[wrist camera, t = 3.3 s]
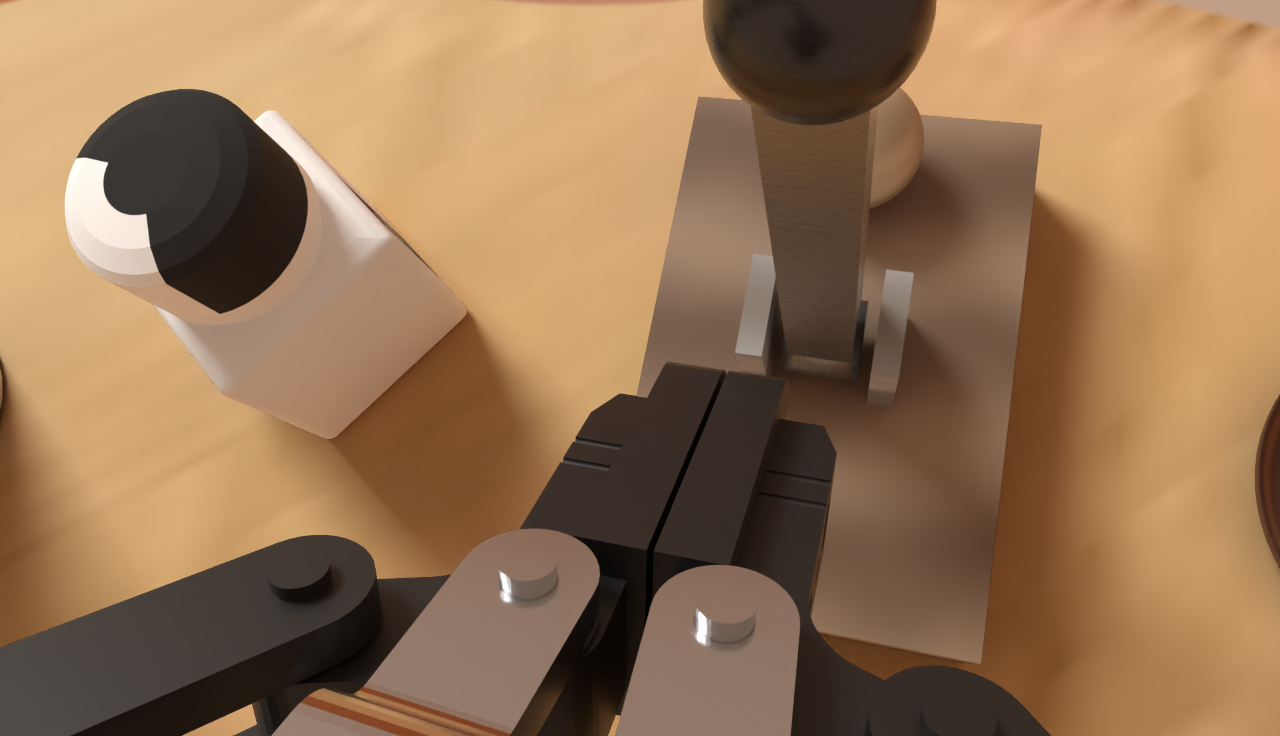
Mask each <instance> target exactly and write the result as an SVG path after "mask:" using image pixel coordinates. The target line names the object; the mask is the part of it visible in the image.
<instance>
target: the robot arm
mask: <svg viewBox="0 0 1280 736" xmlns="http://www.w3.org/2000/svg"><path fill="white" fill-rule="evenodd" d="M787 397H788V379H783V378H776V377H770V376H763V375H756V374H750V373H743V372H736V371H728V373H727V375H726V371H725V370H722V369H715V368H708V367H702V366H695V365H689V364H682V363H675V362H666V363H665V365H664V367H663V368H662V370H661V372H660V374H659V376H658V378H657V380H656V382H655V384H654V385H653V387H652V389H651V391H650V393H649V395H648V397H647V398H645V397H639V396H633V395H626V394H618V395H617V396H615V397H614V398H612V399H611V400H609V401H608V402H606V403H605V404H603V405H602V406H600V407H598V408H597V409H595V410H594V411H592V412H591V413H590V415H589V416H588V418H587V420H586V421H585V423H584V425H583V426H582V428H581V430H580V431H579V433H578V434H577V436H576V441H575V442H573V443H572V444H571V446H570V448H569V449H568V451H567V453H566V454H565V456H564V459H563V463H561V462H560V464H559V466H558V467H557V469H556V471H555V472H554V474H553V476H552V477H551V479H550V480H549V482H548V484H547V485H546V487H545V489H544V490H543V492H542V494H541V495H540V497H539V499H538V500H537V502H536V503H535V505H534V507H533V508H532V510H531V512H530V513H529V515H528V517H527V518H526V520H525V522H524V523H523V525H522V526H521V528H520V530H514V531H509V532H506V533H502V534H499V535H497V536H494V537H492V538H489V539H488V540H486V541H484V542H482V543H480V544H479V545H478V546H476V547H475V548H474V549H473V550H471V552H470V553H469V554H468V555H467V556H466V557H465V558H464V559H463V561H462V562H461V563H460V564H459V566H458V567H457V568H456V570H455V571H454V572H453V573H452V574H451V575H446V576H437V577H420V578H395V579H377V575H376V569H375V564H374V561H373V559H372V557H371V555H370V554H369V553H368V552H367V550H366V549H365V548H363V547H362V546H360V545H359V544H357V543H356V542H353V541H351V540H349V539H346V538H342V537H338V536H330V535H310V536H301V537H297V538H292V539H288V540H285V541H282V542H279V543H276V544H273V545H271V546H268V547H265V548H263V549H260V550H257V551H255V552H252V553H249V554H247V555H244V556H241V557H239V558H236V559H234V560H231V561H228V562H226V563H223V564H220V565H218V566H215V567H212V568H210V569H207V570H204V571H202V572H199V573H196V574H194V575H191V576H189V577H186V578H183V579H181V580H178V581H175V582H173V583H170V584H167V585H165V586H162V587H159V588H157V589H154V590H151V591H149V592H146V593H144V594H141V595H138V596H136V597H133V598H130V599H128V600H125V601H122V602H120V603H117V604H114V605H112V606H109V607H107V608H104V609H101V610H99V611H96V612H93V613H91V614H88V615H85V616H83V617H80V618H77V619H75V620H72V621H69V622H67V623H64V624H62V625H59V626H56V627H54V628H51V629H48V630H46V631H43V632H40V633H38V634H35V635H32V636H30V637H27V638H24V639H22V640H19V641H17V642H14V643H11V644H9V645H6V646H3V647H1V648H0V736H182V735H184V734H186V733H188V732H191V731H193V730H195V729H197V728H199V727H202V726H204V725H206V724H208V723H210V722H213V721H215V720H217V719H219V718H221V717H224V716H226V715H228V714H230V713H232V712H235V711H237V710H239V709H241V708H243V707H245V706H248V705H250V704H252V706H253V710H254V714H255V717H256V721H257V725H255V726H253V727H251V728H249V729H247V730H245V731H242V732H240V733H238V734H236V735H234V736H608V734H609V731H610V729H611V726H612V723H613V721H614V718H615V716H616V715H620V720H619V724H618V727H617V731H616V735H615V736H1051V735H1050V734H1049V733H1048V732H1047V731H1046V730H1045V729H1044V728H1043V727H1042V726H1041V724H1040V723H1039V722H1038V721H1037V720H1036V719H1035V718H1034V717H1033V716H1032V715H1031V714H1030V713H1029V712H1028V710H1027V709H1026V708H1025V707H1024V706H1023V705H1022V704H1021V703H1020V702H1019V701H1018V700H1017V699H1015V698H1014V697H1013V696H1012V695H1011V694H1010V693H1008V692H1007V691H1006V690H1004V689H1003V688H1001V687H1000V686H998V685H997V684H995V683H993V682H991V681H990V680H988V679H986V678H983V677H981V676H979V675H976V674H974V673H971V672H968V671H965V670H961V669H957V668H951V667H946V666H920V667H914V668H910V669H906V670H903V671H901V672H899V673H896V674H894V675H893V676H891V677H890V678H888V679H887V680H883V679H881V678H879V677H877V676H875V675H873V674H871V673H868V672H866V671H864V670H862V669H861V668H859V667H857V666H855V665H853V664H852V663H850V662H848V661H847V660H845V659H844V658H843V657H841V656H840V655H839V654H837V653H836V652H835V651H834V650H833V649H832V648H831V647H830V646H829V645H828V644H827V643H826V642H825V641H824V640H823V638H822V637H821V636H820V635H819V633H818V631H817V629H816V628H815V626H814V624H813V621H812V618H811V616H812V609H813V605H814V599H815V594H816V589H817V582H818V578H819V573H820V567H821V562H822V556H823V551H824V543H825V536H826V529H827V522H828V514H829V507H830V500H831V492H832V485H833V478H834V471H835V463H836V456H837V452H836V450H835V448H834V446H833V444H832V442H831V440H830V438H829V435H828V433H827V431H826V429H825V427H824V426H821V425H815V424H809V423H803V422H796V421H790V420H785V416H786V407H787ZM1 403H2V374H1V370H0V409H1Z"/></svg>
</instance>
